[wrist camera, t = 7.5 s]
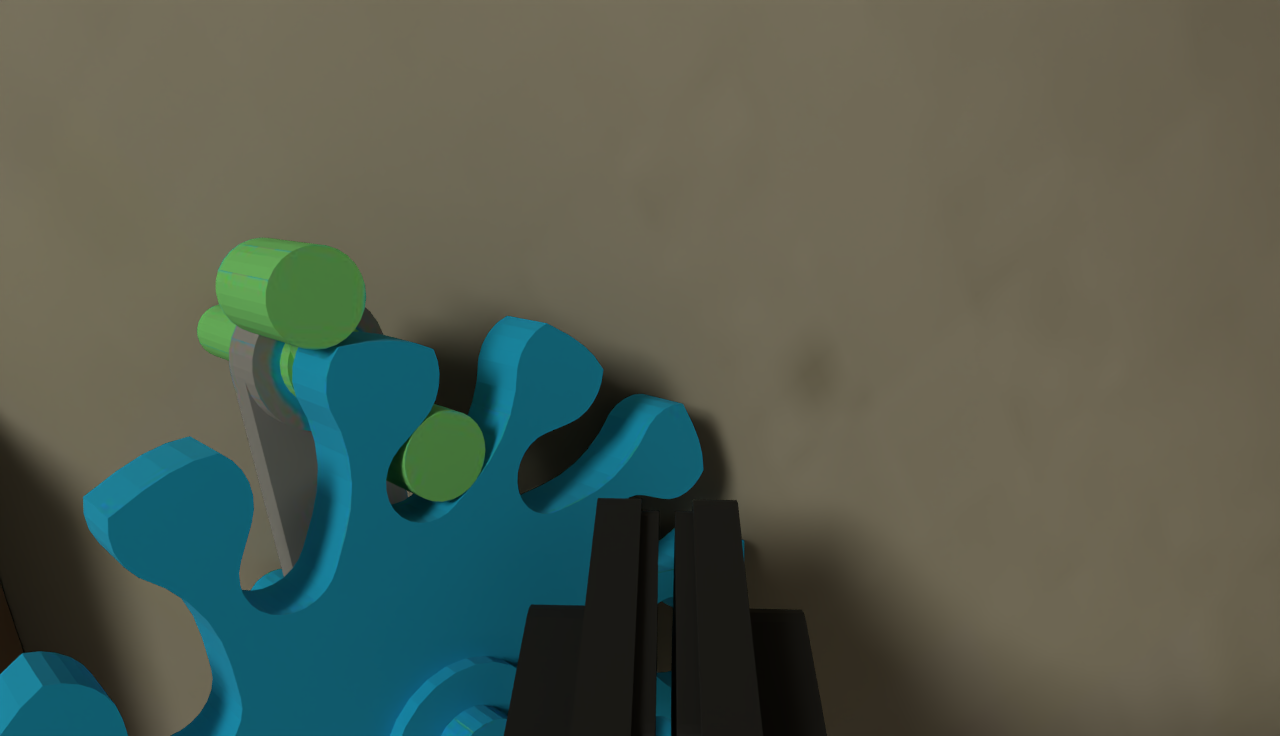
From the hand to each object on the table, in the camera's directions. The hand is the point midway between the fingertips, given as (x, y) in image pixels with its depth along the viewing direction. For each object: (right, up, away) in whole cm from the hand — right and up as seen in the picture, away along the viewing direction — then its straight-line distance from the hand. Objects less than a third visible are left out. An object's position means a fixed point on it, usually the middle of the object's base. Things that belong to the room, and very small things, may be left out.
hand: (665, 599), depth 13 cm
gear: (-3, +1, +3) cm, 4 cm away
